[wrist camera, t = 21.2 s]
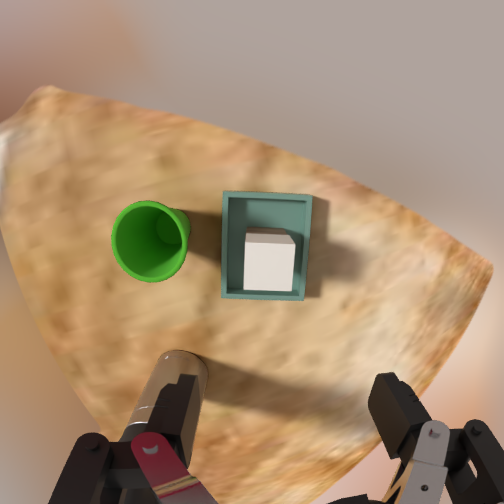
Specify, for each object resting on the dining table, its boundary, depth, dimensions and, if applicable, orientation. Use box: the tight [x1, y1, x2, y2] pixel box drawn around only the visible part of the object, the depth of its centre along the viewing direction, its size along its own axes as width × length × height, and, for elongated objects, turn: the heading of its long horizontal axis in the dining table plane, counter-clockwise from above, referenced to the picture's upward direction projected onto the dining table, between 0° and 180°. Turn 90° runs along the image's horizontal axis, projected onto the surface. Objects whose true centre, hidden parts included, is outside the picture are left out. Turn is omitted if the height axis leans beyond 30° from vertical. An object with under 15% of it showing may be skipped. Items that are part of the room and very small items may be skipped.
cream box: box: [244, 233, 295, 291], centre depth 32 cm, size 5×5×5 cm
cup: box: [111, 201, 191, 282], centre depth 35 cm, size 9×9×11 cm
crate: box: [221, 191, 312, 301], centre depth 39 cm, size 14×11×3 cm
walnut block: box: [245, 227, 287, 240], centre depth 37 cm, size 5×5×6 cm
